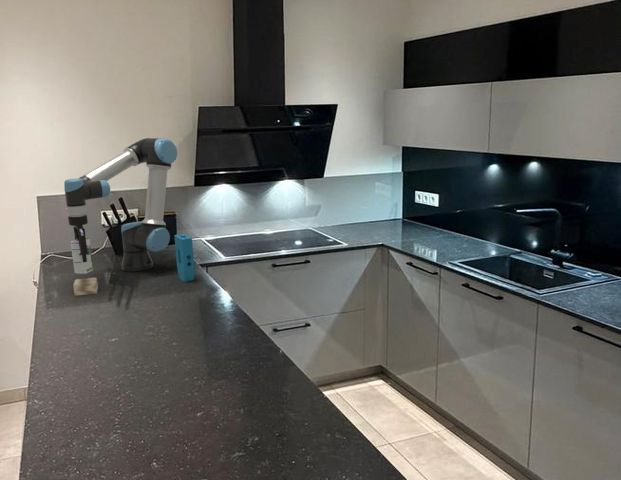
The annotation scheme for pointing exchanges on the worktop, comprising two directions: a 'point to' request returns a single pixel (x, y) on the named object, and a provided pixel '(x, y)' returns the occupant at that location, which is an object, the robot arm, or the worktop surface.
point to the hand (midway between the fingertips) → (83, 267)
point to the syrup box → (77, 259)
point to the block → (184, 257)
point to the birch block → (85, 286)
